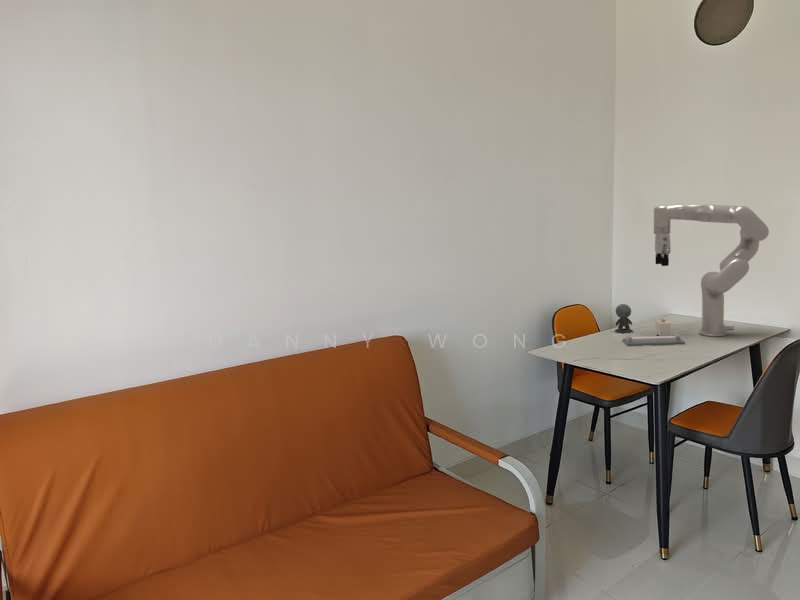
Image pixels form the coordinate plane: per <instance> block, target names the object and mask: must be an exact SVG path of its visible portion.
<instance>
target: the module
mask: <svg viewBox="0 0 800 600" xmlns="http://www.w3.org/2000/svg"><path fill="white" fill-rule="evenodd" d="M671 324H672V323H671V322H669V321H668V320H666V319H665V318H661V319H660V320H658V319H657V320H655V336H656V335H659V336H672V333H671V332H672V331H671V329H672V325H671Z"/></svg>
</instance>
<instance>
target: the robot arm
mask: <svg viewBox="0 0 800 600" xmlns="http://www.w3.org/2000/svg"><path fill="white" fill-rule="evenodd" d="M671 220H675V221H676V220H678V221H679V220H681V221H693V222H694V221H696V222H701V223H715V224H717V223H718V224H720V223H722V224H737V225H738V226H739V227H740V229H739V236H740V242H739V244H738V245H737V246H736V247H735V249H734V250H733V251H731V252H730V253H729V254H728V255H727V256H726V257H725V258H723V259H722V260H721V262H719V263H720V264H719V270H720V271H718V272H717V271H709V272H706V273H705V274H703V276H702V277H701V281H700V287H701V301H702V302H701V304H702V305H701V329H700V330H698V332H697V333H698V334H699V335H701V336H706V337H725V336H727V335H728V331H735V326H734V325H733V326H730V325H725V323H724V315H725V312H724V311H725V310H724V309H725V295H724V293H727V292H729V291H730V290H731V289H733V287H735V286H736V284H738V283H739V282H740V281H741V280H742V279H743V278H744V277H745V276H746V275H747V274H748V272H749V270H750V265H749V264H750V263H749V262H750V261H751V259H753V258H754V256H755V255H756V254H757V252H758V251H759V246H760V242H762V241H764V240H766V239H767V238H768V236H769V234H770V229H769V227H768V226H767V224H766V223H765V222H764V221H763V220H762V219H761V218H760V217H759V216H758V215H757V214H756V213H754V211H753V210H752V209H751V208H749V207H748V206H745V205H725V204H724V205H723V204H700V205H698V204H693V205H692V204H691V205H690V204H682V203H681V204H680V203H677V204H676V203H675V204H672V205H657V206H655V207H654V208H653V234H654V235H655V236H654V251H655V265H661V267H666V266H667V267H668V266H669V264H670V263H669V262H670V259H669V257H670V253H671V236H670V234H671Z"/></svg>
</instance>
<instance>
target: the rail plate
mask: <svg viewBox="0 0 800 600" xmlns="http://www.w3.org/2000/svg"><path fill="white" fill-rule="evenodd" d="M625 337H626V338H622V342H623V341H624V342H625V343H626V344H625V343H624V342H623V343H624V344H625V345H626V346H627V347H642V346H643V345H651V346H670V345H669V344H685V345H686V341H684V340H683V339H681V335H680V334H678V333H673V335H671V336H656V335H655V336H631V335H626V336H625ZM643 347H644V346H643Z"/></svg>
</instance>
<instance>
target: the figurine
mask: <svg viewBox="0 0 800 600" xmlns="http://www.w3.org/2000/svg"><path fill="white" fill-rule="evenodd" d="M615 315H616V316H617V317H618V318H619V319H618V320H617V321H616V322H615V326H616V327H617V326H618V327H617V328H616V329H615V330H614V332H615V333H616V334H624V333H628V334H631V332H632V333H634V331H633V329H631V328H630V326H633V323H632V321H631V319H629V317H630V316H631V315H632V309H631V307H630V306H629V305H628V304H625V303H621V304H618V305H617V307H616V308H615Z"/></svg>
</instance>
